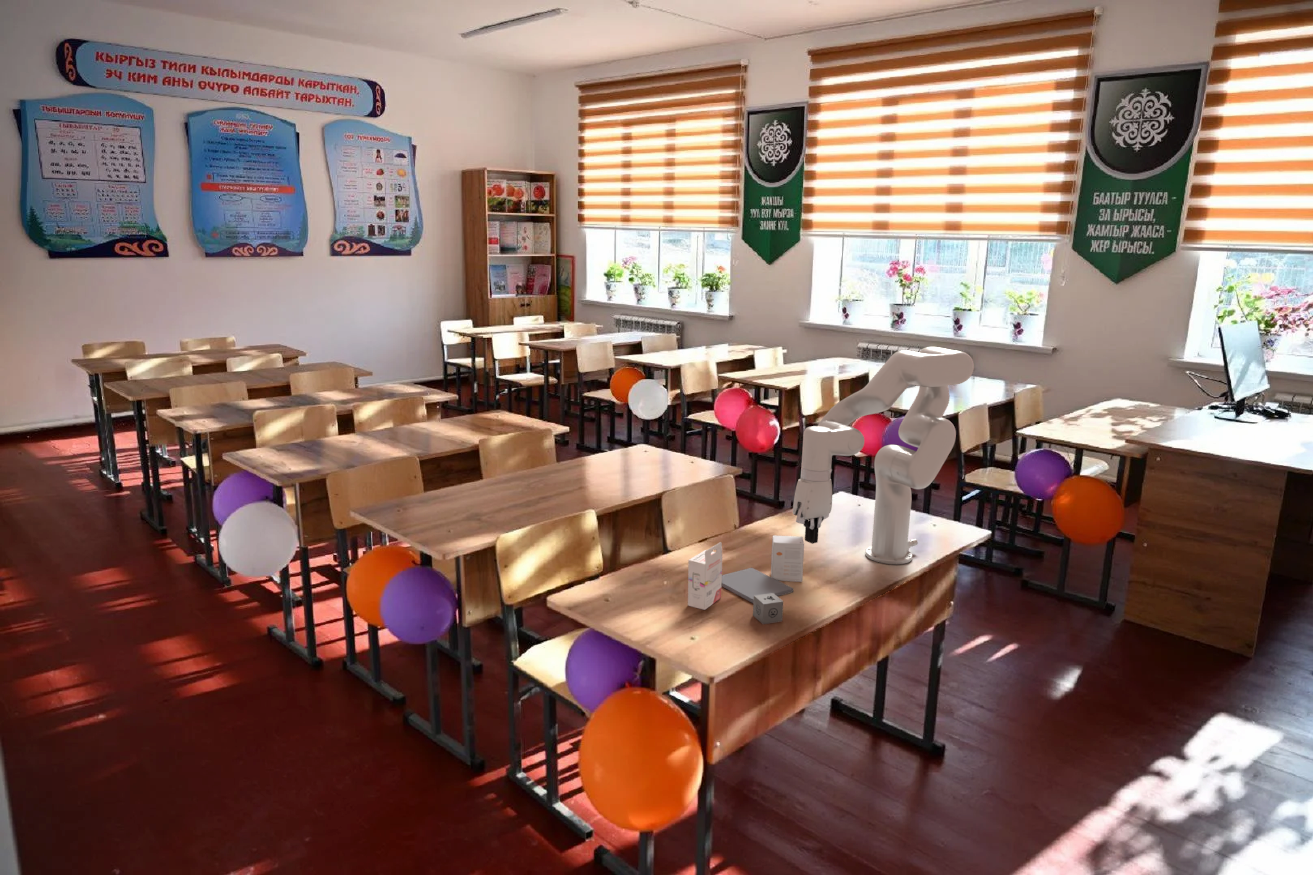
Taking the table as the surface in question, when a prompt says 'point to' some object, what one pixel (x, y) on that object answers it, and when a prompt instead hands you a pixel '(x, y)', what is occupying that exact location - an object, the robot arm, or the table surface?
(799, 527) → the table surface
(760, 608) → the dice cube
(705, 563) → the ink cartridge box
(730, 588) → the mat
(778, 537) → the small box
